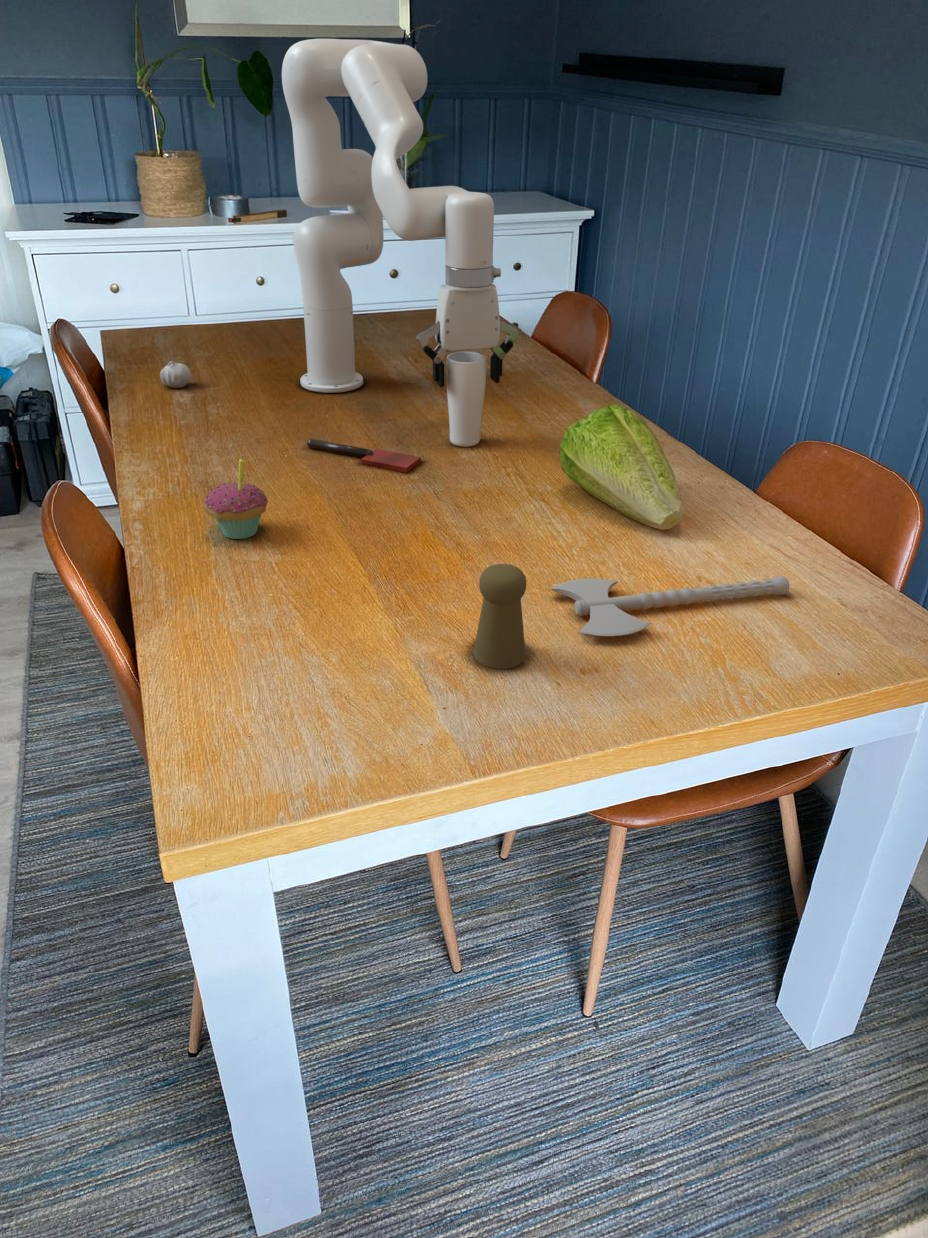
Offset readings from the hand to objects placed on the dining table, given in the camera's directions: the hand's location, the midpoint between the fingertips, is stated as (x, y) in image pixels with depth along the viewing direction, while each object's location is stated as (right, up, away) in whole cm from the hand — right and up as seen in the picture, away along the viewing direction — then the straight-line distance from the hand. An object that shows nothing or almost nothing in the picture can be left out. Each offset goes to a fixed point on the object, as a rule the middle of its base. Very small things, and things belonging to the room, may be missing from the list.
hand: (467, 382), depth 161 cm
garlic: (-58, +6, +29) cm, 65 cm away
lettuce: (+24, -23, -16) cm, 37 cm away
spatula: (-17, -13, -1) cm, 22 cm away
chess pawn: (+3, -44, -51) cm, 68 cm away
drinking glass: (0, -9, +6) cm, 11 cm away
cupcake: (-32, -28, -26) cm, 50 cm away
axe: (+26, -38, -41) cm, 62 cm away
